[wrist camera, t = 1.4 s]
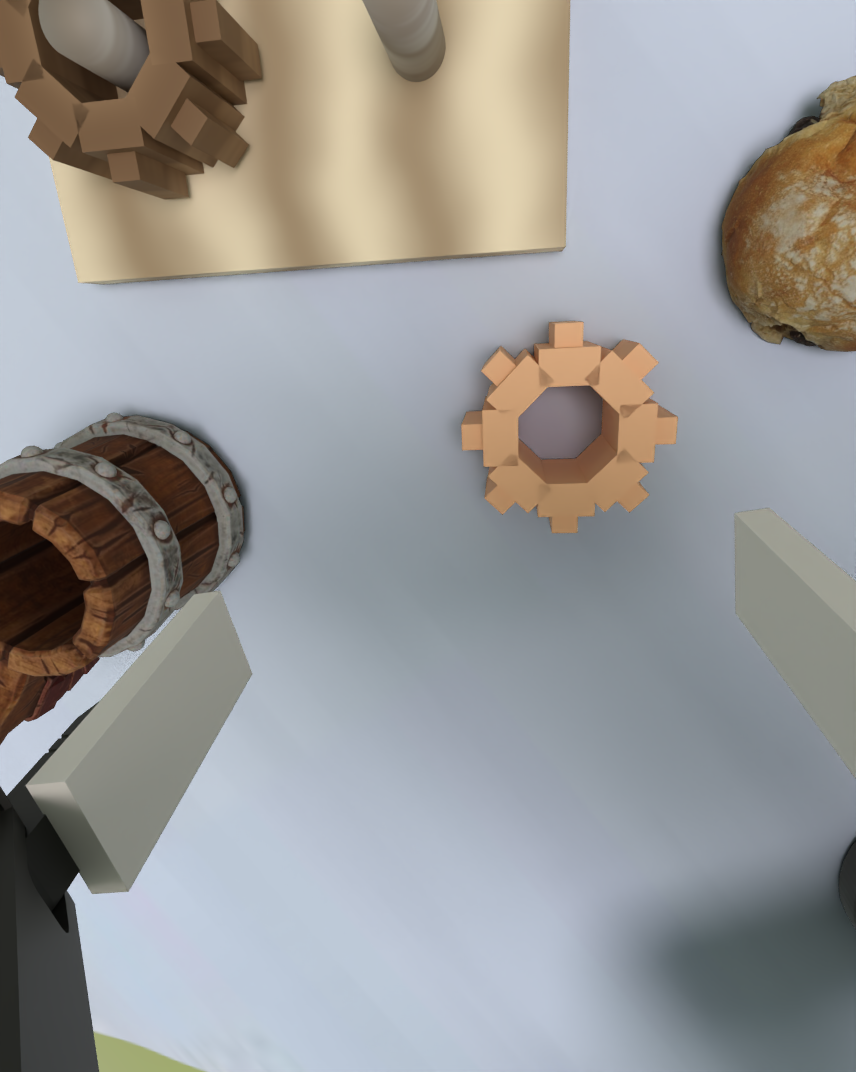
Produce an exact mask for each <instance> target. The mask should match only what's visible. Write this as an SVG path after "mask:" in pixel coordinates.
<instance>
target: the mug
mask: <svg viewBox="0 0 856 1072" xmlns="http://www.w3.org/2000/svg"><path fill="white" fill-rule="evenodd" d="M240 496H241V495H240V493H239V490H238V488H237V485H236V483H235V480H234V478H233V475H232V473H231V471H230V470H229V469H228V468H227V466H226V465H225V464H224V463H223V462H222V460H221V459H220V458H219V457H218V455H217V454H216V453H215V452H214V451H213V449H212V448H211V447H210V446H209V445H207V444H206V443H204V442H203V441H201V440H200V439H198V438H197V437H195V436H194V435H192V434H190V433H189V432H187V431H186V432H185V431H182V430H181V429H179V428H178V427H176V426H174V425H173V424H169V423H166V422H162V421H158V420H154V419H150V418H147V417H143V416H139V415H136V416H127V417H123V416H122V415H120V414H118V413H110V414H108V415H107V417H106V419H104V420H101V421H99V422H97V423H94V424H92V425H90V426H88V427H86V428H85V429H83V430H81V431H80V432H78V433H76V434H74V435H73V436H71V437H69V438H68V439H66V440H64V441H63V442H60V443H58V444H56V445H55V447H54V449H45V450H42V449H41V448H39V447H37V446H28V447H26V448H24V449H23V450H22V452H21V455H19V456H17V457H14V458H12V459H9V460H7V461H6V462H4V463H2V464H1V465H0V745H1V743H2V742H3V740H4V739H5V737H6V736H7V734H8V733H9V732H10V731H12V730H13V729H14V728H15V727H16V726H18V725H19V724H20V723H21V722H22V721H24V720H25V721H32V720H35V719H37V718H39V717H40V716H42V715H43V714H45V713H47V712H48V711H50V710H51V709H53V708H54V707H55V704H56V702H57V701H58V700H59V699H61V697H62V696H63V695H64V694H65V693H66V691H70V690H71V689H72V688H73V687H74V685H75V684H76V683H77V682H78V681H79V679H80V678H81V677H82V676H83V674H87V673H88V672H89V671H90V670H91V668H92V667H93V666H94V665H95V664H96V663H97V662H98V660H99V659H100V658H99V657H111V656H113V655H116V654H118V653H120V652H122V651H125V650H127V649H128V650H130V651H138V650H140V649H141V648H142V647H143V646H144V644H145V639H146V638H148V637H149V636H151V635H152V634H153V633H155V632H156V631H157V629H158V628H159V627H160V626H161V625H162V624H163V623H164V622H165V620H166V619H167V618H168V617H169V616H170V615H171V614H172V612H173V611H174V610H178V609H180V608H182V607H184V605H185V604H186V603H187V602H188V601H189V600H190V599H191V597H192V596H193V595H194V594H201V593H207V592H212V591H214V590H215V589H216V588H217V587H218V586H219V585H220V584H221V582H222V581H223V580H224V579H225V578H226V577H227V576H228V575H229V574H230V572H231V571H232V570H233V569H234V568H235V566H236V565H237V564H238V563H239V561H240V555H239V552H240V549H241V546H242V543H243V540H244V536H243V534H244V531H245V528H244V510H243V506H241V504H240V501H239V499H238V498H239V497H240Z"/></svg>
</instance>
